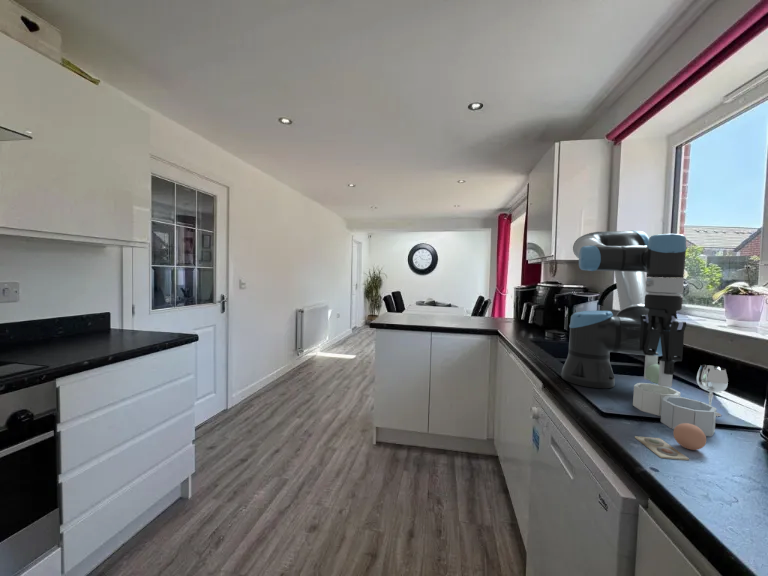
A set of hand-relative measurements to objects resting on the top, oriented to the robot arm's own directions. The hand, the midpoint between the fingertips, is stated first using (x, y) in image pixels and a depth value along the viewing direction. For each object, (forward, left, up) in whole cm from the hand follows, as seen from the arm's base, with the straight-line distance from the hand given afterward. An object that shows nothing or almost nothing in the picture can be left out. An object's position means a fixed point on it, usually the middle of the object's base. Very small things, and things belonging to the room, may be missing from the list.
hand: (657, 382), depth 89 cm
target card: (+22, -13, -7) cm, 26 cm away
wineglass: (0, +13, -7) cm, 15 cm away
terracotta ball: (+21, -7, -7) cm, 23 cm away
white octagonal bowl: (0, 0, -7) cm, 7 cm away
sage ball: (0, 0, 0) cm, 0 cm away
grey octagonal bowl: (+10, +1, -7) cm, 12 cm away
